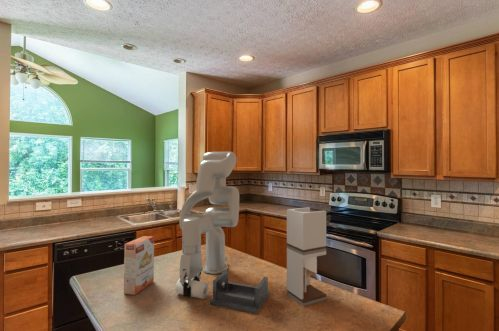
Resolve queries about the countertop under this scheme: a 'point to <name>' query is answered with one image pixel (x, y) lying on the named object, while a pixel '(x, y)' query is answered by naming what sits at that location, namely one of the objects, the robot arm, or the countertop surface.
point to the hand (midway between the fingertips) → (191, 292)
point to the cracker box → (138, 264)
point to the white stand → (304, 253)
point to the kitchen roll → (194, 288)
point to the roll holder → (239, 294)
